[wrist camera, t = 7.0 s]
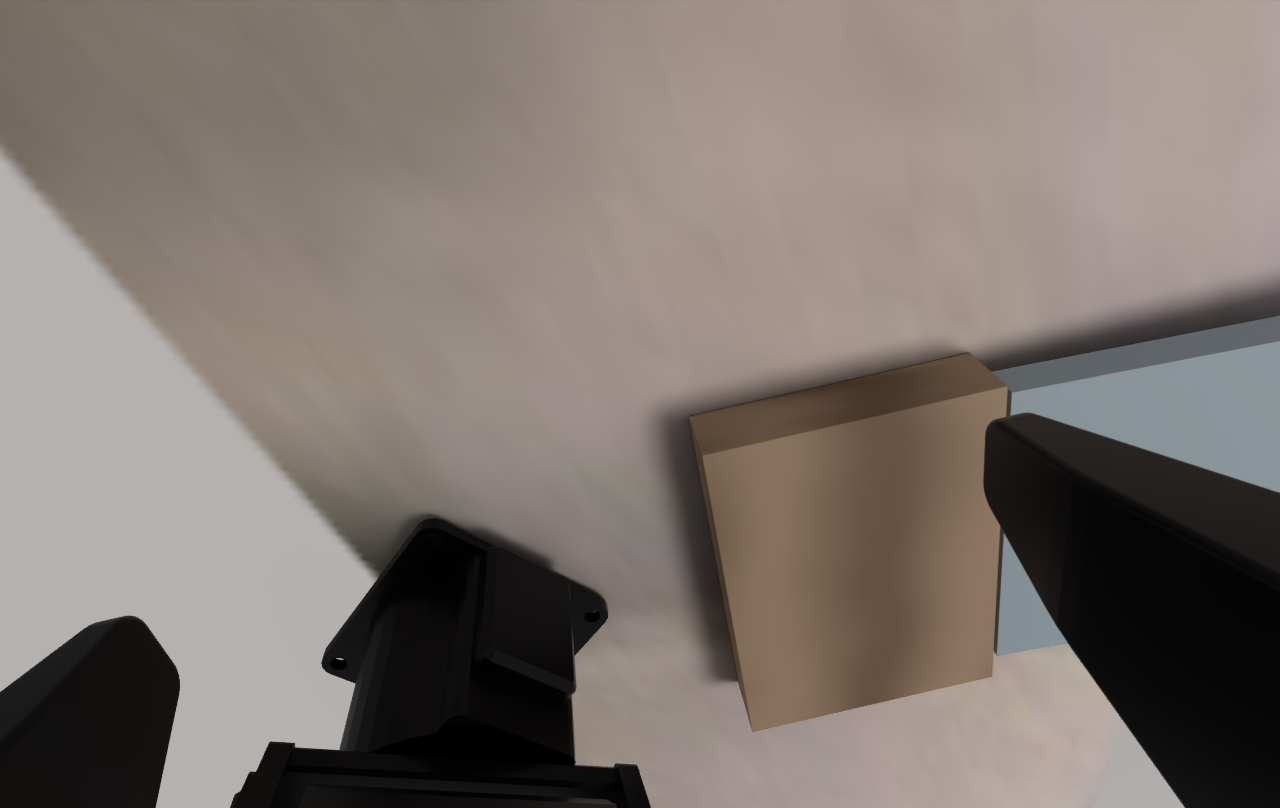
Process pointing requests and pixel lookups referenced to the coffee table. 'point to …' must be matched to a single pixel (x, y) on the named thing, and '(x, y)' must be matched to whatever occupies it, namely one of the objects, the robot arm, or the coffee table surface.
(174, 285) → the coffee table surface
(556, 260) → the coffee table surface
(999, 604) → the panel
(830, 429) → the block
